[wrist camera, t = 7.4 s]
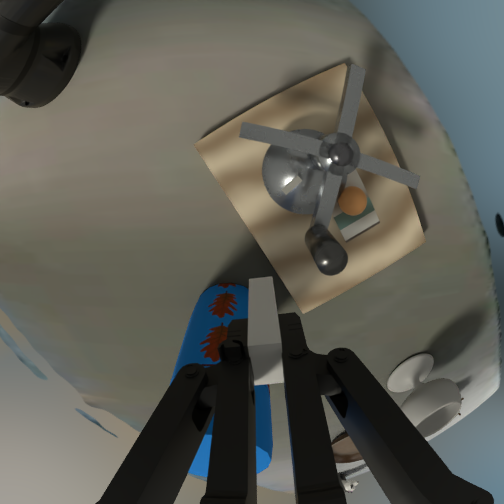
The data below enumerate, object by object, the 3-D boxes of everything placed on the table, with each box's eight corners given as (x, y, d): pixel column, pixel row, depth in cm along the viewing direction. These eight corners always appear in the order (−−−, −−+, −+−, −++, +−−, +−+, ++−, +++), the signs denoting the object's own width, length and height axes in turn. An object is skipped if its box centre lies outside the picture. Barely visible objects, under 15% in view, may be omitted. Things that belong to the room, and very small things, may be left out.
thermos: (263, 280, 40) (273, 432, 17) (265, 337, 44) (273, 478, 21) (189, 283, 41) (135, 425, 17) (200, 339, 45) (171, 474, 21)
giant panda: (326, 482, 73) (329, 502, 64) (317, 481, 72) (320, 501, 63) (358, 468, 69) (363, 489, 60) (350, 466, 68) (355, 488, 59)
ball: (329, 192, 33) (338, 197, 30) (353, 179, 32) (364, 183, 29) (342, 216, 34) (351, 224, 31) (364, 203, 34) (376, 209, 30)
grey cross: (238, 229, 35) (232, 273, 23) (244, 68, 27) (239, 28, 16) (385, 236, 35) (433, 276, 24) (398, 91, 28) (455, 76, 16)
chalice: (446, 351, 48) (477, 395, 34) (413, 393, 53) (435, 438, 39) (406, 345, 46) (438, 399, 32) (371, 392, 51) (391, 445, 37)
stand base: (196, 144, 33) (193, 144, 31) (340, 66, 29) (345, 62, 27) (301, 306, 42) (303, 314, 40) (419, 237, 38) (426, 242, 36)
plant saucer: (308, 451, 61) (309, 460, 58) (360, 414, 55) (364, 424, 51) (356, 457, 65) (358, 465, 62) (405, 423, 58) (408, 431, 55)
